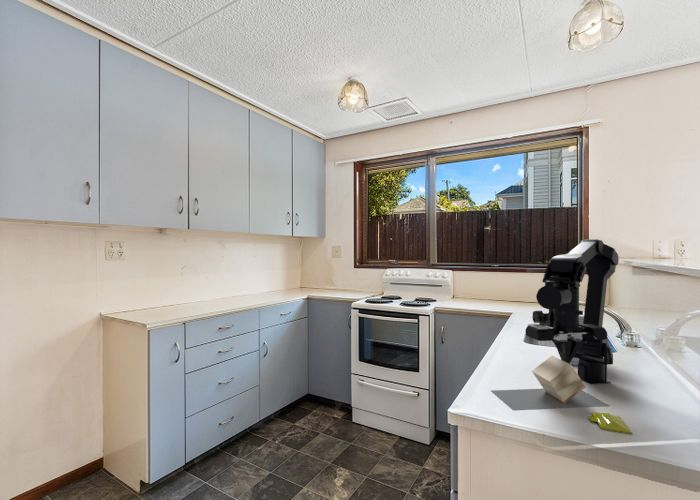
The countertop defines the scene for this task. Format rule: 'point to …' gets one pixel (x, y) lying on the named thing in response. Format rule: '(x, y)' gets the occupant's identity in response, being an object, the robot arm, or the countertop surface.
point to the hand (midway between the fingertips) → (565, 365)
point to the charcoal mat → (544, 399)
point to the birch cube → (558, 379)
